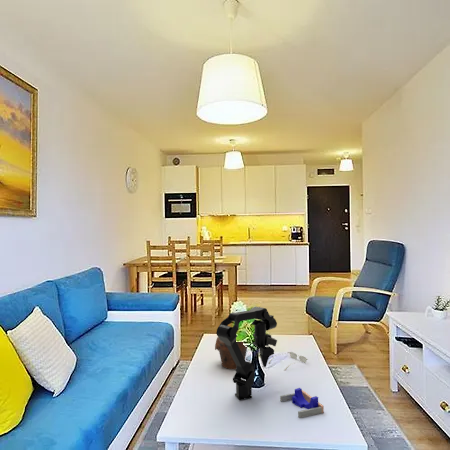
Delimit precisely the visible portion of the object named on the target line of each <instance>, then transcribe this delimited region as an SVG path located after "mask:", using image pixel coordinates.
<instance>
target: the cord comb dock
mask: <svg viewBox="0 0 450 450" xmlns="http://www.w3.org/2000/svg"><path fill="white" fill-rule="evenodd" d="M302 394H303V396H304V398H305V400H306V401H307V402H309V403H310V400H311V398H312V397H313V396H311V395H310V394H308V393H307V392H306V391H305V390H303V389H302ZM293 396H295V392H293V393H288V394H282V395H280V396H279V399H280V402H281V403H282V402H287V401H292V397H293ZM324 412H325V409H324V404H321V403H320V402H319V401H318V407H316V408H311V409H303V410H302V409H301V410H298V411H297V418H299V419H301V418H306V417H311V416H315V415H319V414H323V413H324Z"/></svg>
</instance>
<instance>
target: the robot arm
mask: <svg viewBox="0 0 450 450" xmlns="http://www.w3.org/2000/svg"><path fill="white" fill-rule="evenodd" d="M267 309H268V308H264V307H261V306H254V307H252V308H250V309H249V310H242V311H237V312H230V313H229V315H228V316H227V317H226V318H224V319H223V320H222V321H221V322H220V324H219V326H218V327H217V329H216V336H217V338H218V337H219V339H220V340H221V341H222V342H224V343H225V344H226V346H227V348H228V350H229V352H230V354H231V356H232V358H233V360H234V362H235V364H236V369H235V374H234V376H233V377H232V382H233V383H234V384H235V391H236V392H235V393H234V395H235V397H236V398H237V399H238V400H239V401H243V400H248V399H252V398H253V394H252V393H253V389H252V386H253V385H254V382H255V379H256V378H255V377H256V372H255V369H256V368H255V367H254V365H253V363H252V362H249V361H246V358H245V359H244V356H243V354H242V352H241V350H240V348H239V346H238V344H237V342H236V337H237V333H238V331H239V328H240V323H241V322H244V321H251V320H253V321H252V322H251V325H252V326H254V333H252V335H253V336H252V337H254V339H255V342H253V344H254V345H255V346H256V347H258V357H259V358H260V360H261V363H262V366H263V368H266V367H267V364H268V362H269V359H270V357H272V356H273V355H274V354H275V349H274V348H273V347H276V346H277V343H278V339H276V338H273V337H272V334H270V333H267V331H270V330H273V329H275V328H277V326H278V322H277V320H276V318H274V315H271V314H270V313H269V311H268V310H267ZM232 323H234V324H233V326H229V325H230V324H232ZM250 345H251V344H250ZM269 345H270V346H269ZM271 346H272V347H271ZM249 349H250V351H251V353H252V355H253V352H252V347H249Z"/></svg>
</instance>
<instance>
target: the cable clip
mask: <svg viewBox="0 0 450 450" xmlns="http://www.w3.org/2000/svg"><path fill="white" fill-rule="evenodd" d="M302 390H303V389H302V388H301V387H298V388H295V389H294V393H295V396H293V397H292V400H291V402H292V404H294V405H296V406H297V407H299V408H301V409H302V408H304V409H305V410H307V409H311V408H316V407H318V402H319V397H318V396H311V397H312V398H311V400H310V403H309V402H307V401H306V400H305V398H304V396H303V394H302Z"/></svg>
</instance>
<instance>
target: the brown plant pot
mask: <svg viewBox="0 0 450 450" xmlns="http://www.w3.org/2000/svg"><path fill="white" fill-rule="evenodd" d="M237 344H238V346H239V348H240V350H241V352H242V354H243V356H244V359H245V360H246V356H247V351H248V346H247V347H245V346H244V345H243V342H237ZM214 350H215V351H218V354H219V357H220V362H221V365H222V367H224V368H225V369H228V370H236V364H235V362H234V360H233V358H232V356H231V354H230V352H229V350H228V348H227V346H226V344H225V343H224V342H222V341H221V340H220V339H219V337H218V336H217V337H216V340H215V345H214Z"/></svg>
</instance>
